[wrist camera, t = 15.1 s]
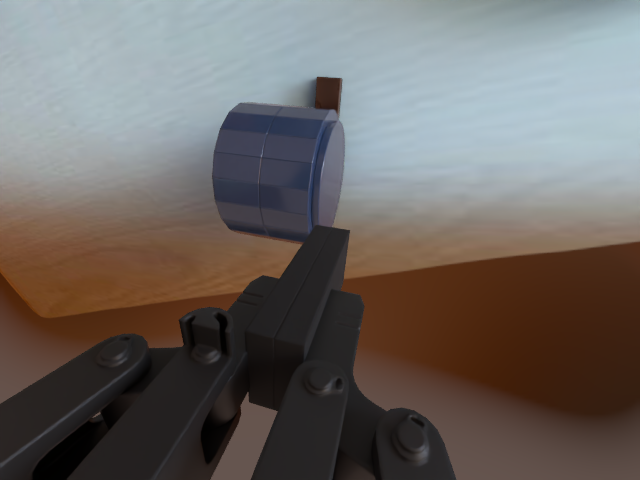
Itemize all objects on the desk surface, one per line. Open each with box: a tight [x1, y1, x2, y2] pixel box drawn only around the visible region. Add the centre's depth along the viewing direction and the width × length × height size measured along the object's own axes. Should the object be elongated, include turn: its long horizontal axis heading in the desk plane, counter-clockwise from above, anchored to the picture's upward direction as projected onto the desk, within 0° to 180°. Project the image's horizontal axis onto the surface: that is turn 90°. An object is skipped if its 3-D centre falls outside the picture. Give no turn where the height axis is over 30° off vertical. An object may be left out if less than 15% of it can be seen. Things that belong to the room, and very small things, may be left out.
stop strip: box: [315, 77, 342, 118], centre depth 27 cm, size 2×14×1 cm, turn 176°
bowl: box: [212, 102, 345, 244], centre depth 23 cm, size 10×10×7 cm
